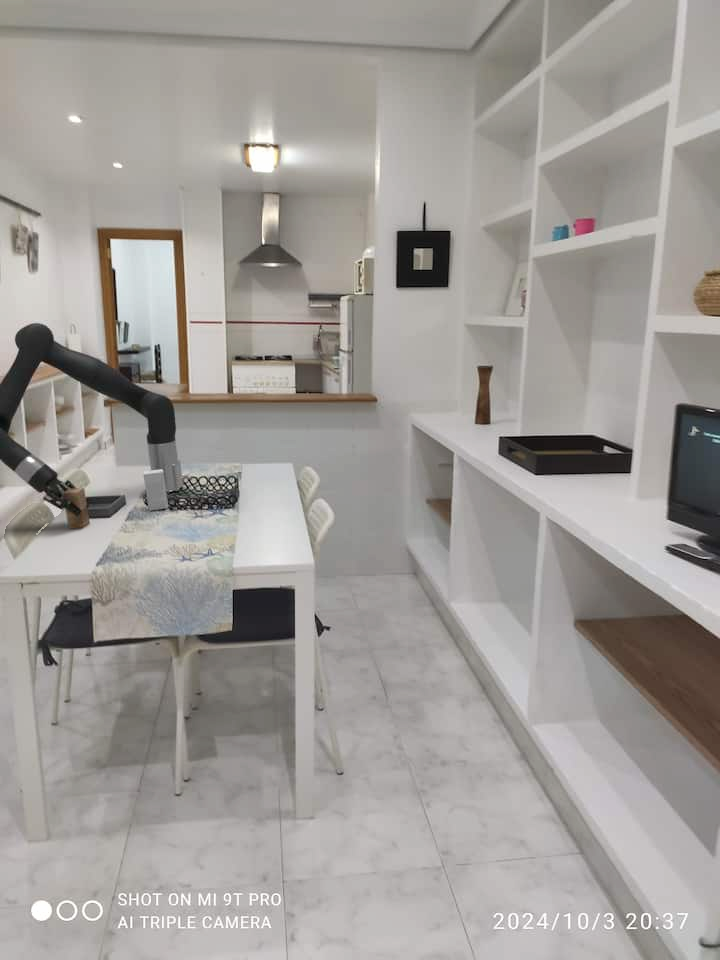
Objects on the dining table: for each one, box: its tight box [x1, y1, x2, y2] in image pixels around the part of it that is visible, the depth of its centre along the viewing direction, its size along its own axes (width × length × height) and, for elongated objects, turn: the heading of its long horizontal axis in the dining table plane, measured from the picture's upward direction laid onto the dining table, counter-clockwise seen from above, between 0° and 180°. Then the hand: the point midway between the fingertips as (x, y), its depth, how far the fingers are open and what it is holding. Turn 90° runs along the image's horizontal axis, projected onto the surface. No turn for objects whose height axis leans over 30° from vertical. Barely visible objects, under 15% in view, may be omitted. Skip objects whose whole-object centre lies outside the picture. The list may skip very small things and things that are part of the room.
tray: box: [85, 494, 127, 519], centre depth 221 cm, size 13×14×3 cm
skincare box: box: [143, 469, 169, 512], centre depth 220 cm, size 6×4×12 cm
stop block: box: [64, 487, 90, 529], centre depth 206 cm, size 4×4×11 cm
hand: (83, 510), depth 206 cm, fingers closed on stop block, 4 cm apart
